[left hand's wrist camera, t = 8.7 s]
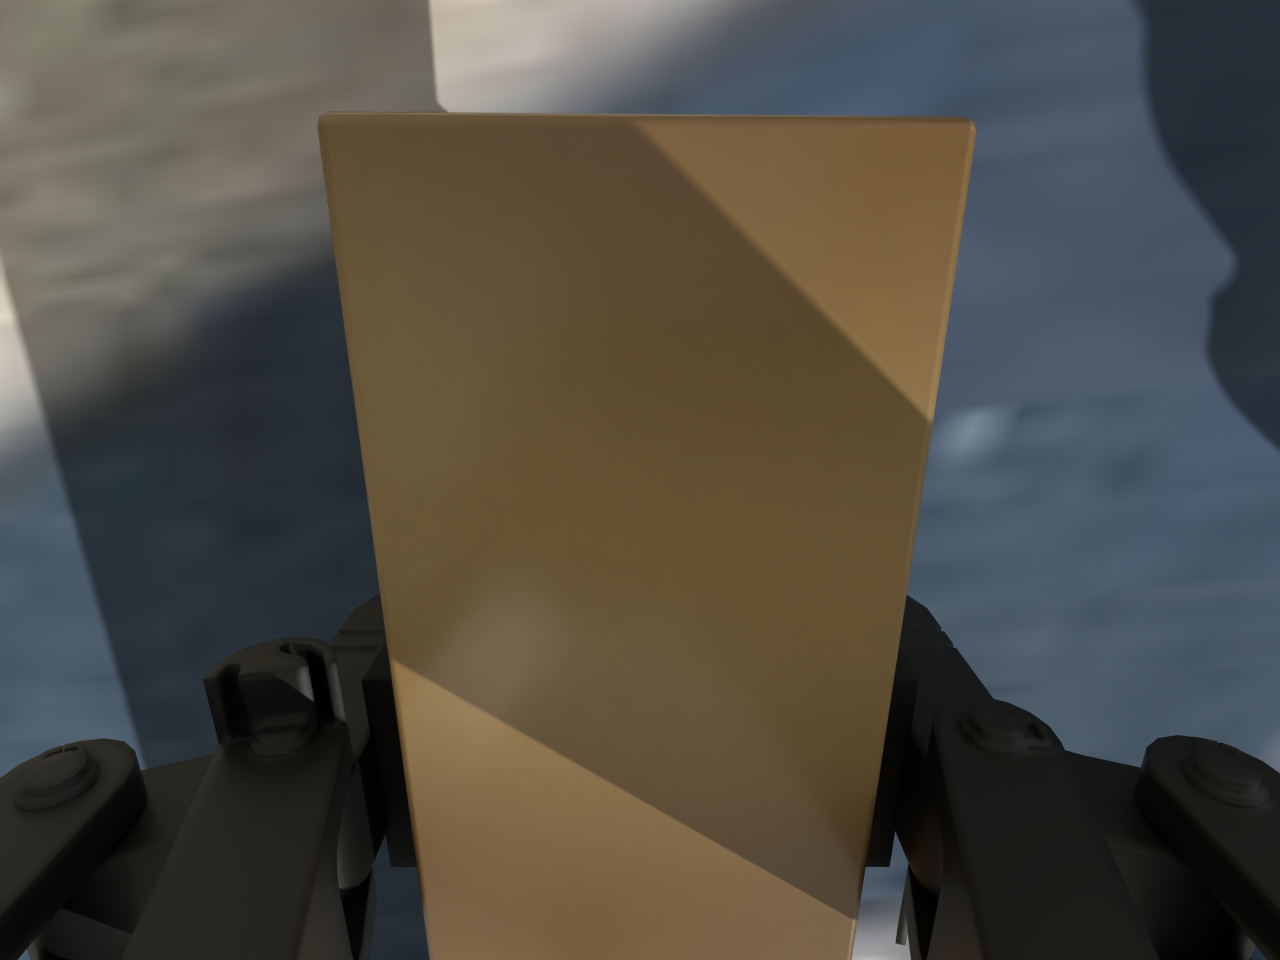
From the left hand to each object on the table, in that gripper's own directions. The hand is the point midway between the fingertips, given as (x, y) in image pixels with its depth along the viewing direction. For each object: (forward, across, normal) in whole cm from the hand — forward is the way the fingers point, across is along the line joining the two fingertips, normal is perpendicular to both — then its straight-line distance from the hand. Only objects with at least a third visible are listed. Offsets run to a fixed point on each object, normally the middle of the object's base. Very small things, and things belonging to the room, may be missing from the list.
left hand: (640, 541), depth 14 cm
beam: (+1, 0, -27) cm, 27 cm away
